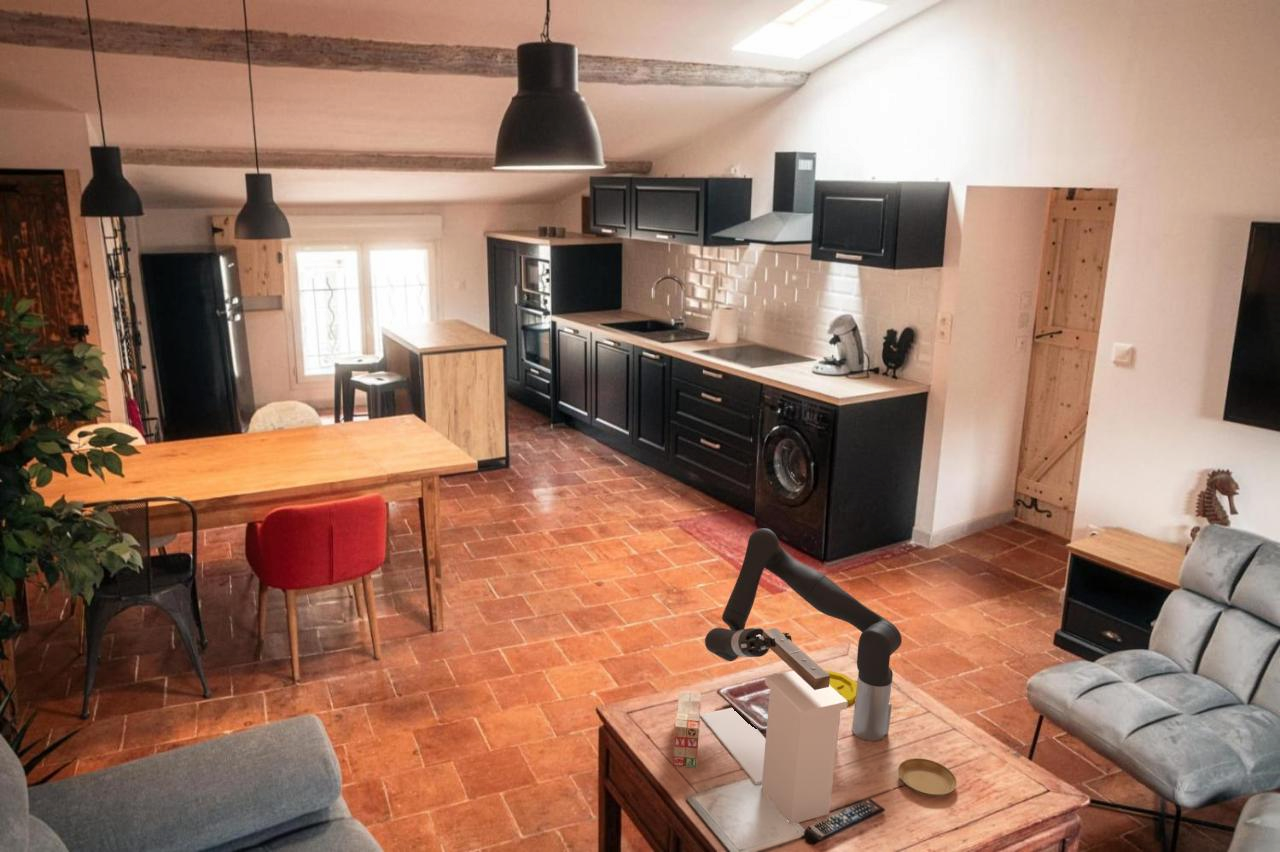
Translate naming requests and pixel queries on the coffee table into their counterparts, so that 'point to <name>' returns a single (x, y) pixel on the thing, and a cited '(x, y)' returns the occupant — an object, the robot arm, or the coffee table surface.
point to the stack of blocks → (687, 729)
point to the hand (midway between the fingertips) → (781, 640)
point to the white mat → (739, 740)
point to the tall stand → (800, 746)
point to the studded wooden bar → (798, 660)
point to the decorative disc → (843, 686)
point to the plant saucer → (927, 777)
